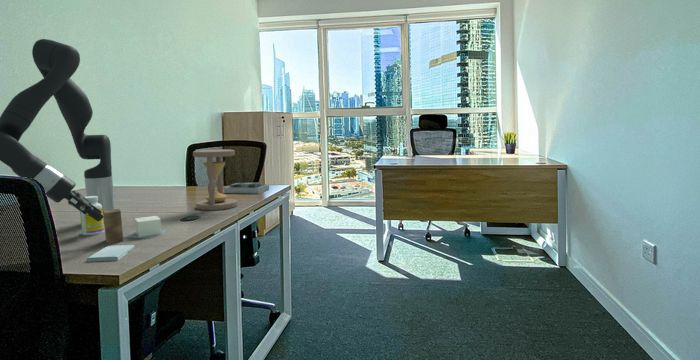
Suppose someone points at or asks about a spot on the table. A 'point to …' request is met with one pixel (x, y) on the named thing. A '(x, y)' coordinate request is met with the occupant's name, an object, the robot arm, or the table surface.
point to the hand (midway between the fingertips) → (100, 216)
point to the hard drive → (111, 253)
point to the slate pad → (134, 235)
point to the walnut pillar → (113, 225)
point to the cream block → (148, 226)
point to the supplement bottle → (92, 219)
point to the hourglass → (213, 171)
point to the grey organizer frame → (246, 189)
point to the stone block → (246, 185)
